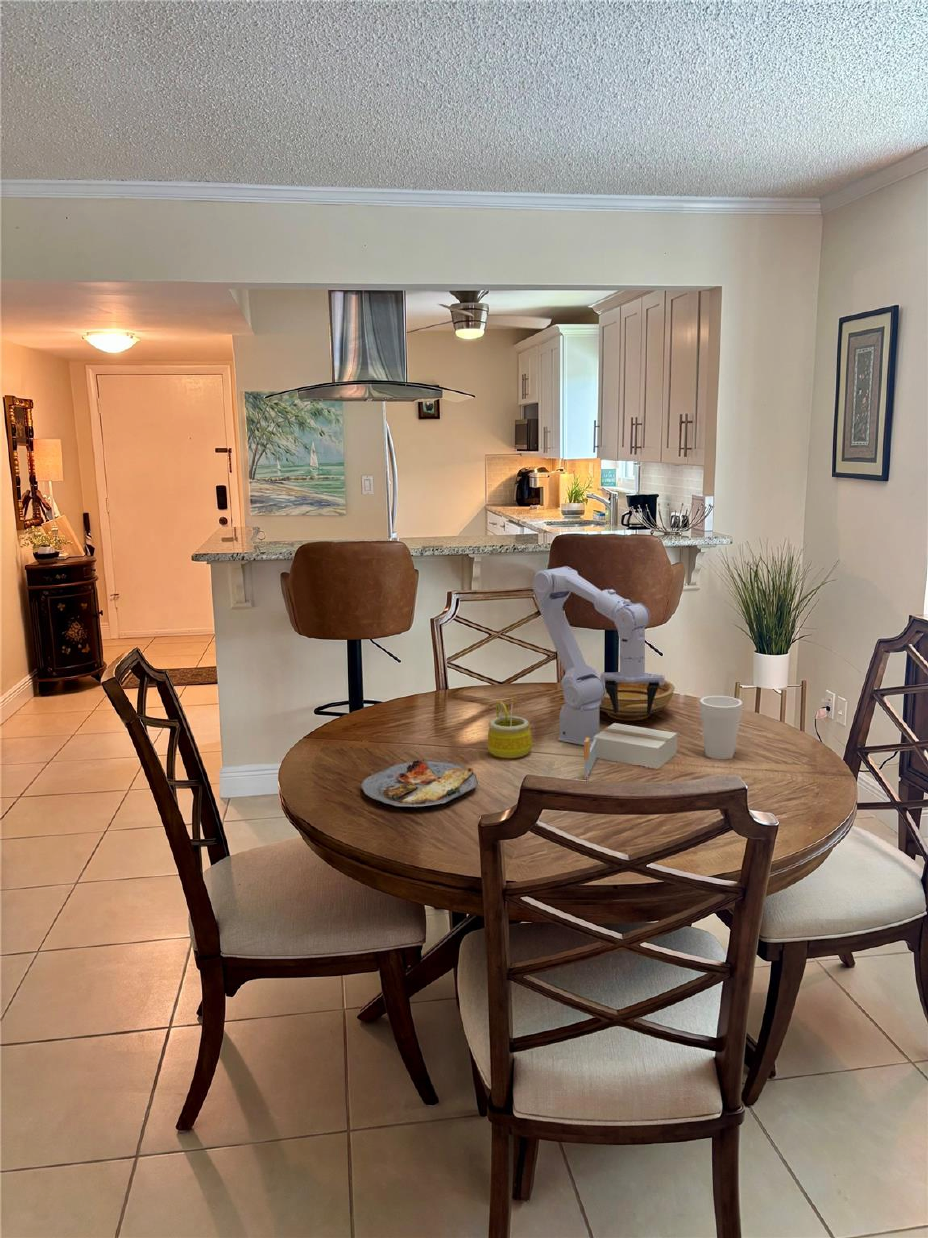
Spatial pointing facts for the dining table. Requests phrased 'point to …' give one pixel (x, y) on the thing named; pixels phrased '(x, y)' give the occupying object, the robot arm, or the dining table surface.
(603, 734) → the carton
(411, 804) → the food plate
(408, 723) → the dining table surface
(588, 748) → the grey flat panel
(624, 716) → the wooden bowl
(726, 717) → the foam cup
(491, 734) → the yellow plant pot
